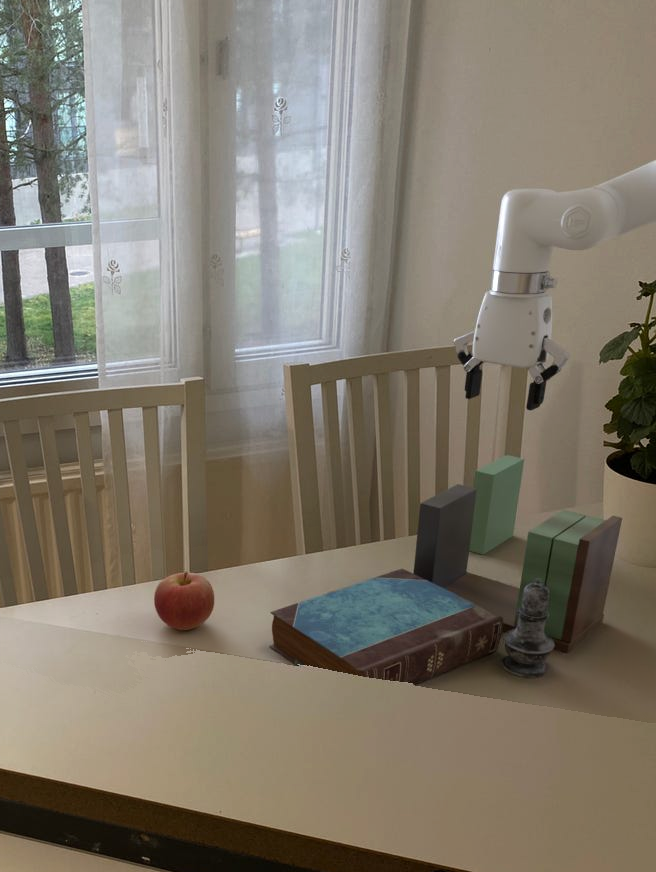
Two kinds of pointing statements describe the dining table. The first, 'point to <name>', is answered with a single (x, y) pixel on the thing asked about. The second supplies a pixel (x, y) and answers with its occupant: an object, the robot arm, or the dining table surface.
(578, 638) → the book rack
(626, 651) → the dining table surface
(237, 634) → the dining table surface
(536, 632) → the grey chess piece
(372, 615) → the book
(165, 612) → the apple
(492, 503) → the green book
